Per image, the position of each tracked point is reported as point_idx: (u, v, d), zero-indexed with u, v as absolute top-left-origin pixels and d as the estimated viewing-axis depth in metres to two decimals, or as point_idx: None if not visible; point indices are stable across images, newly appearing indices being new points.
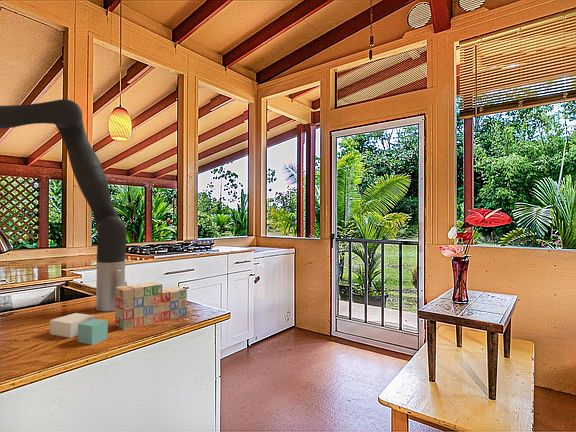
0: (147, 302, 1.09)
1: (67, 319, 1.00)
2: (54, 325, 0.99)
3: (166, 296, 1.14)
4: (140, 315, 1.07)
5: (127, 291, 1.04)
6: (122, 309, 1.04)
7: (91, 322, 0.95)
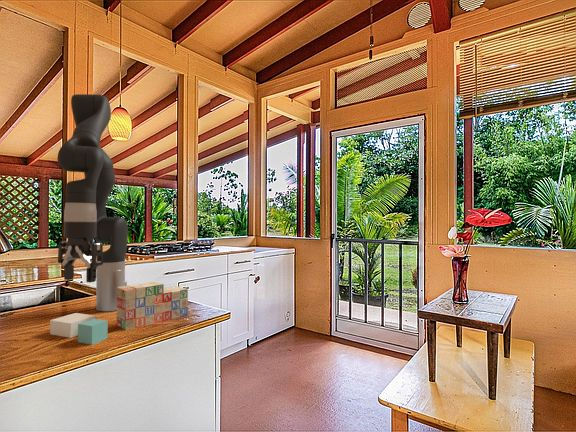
0: (149, 302, 1.09)
1: (67, 319, 1.00)
2: (54, 325, 0.99)
3: (167, 296, 1.14)
4: (142, 315, 1.07)
5: (129, 291, 1.04)
6: (124, 309, 1.04)
7: (91, 322, 0.95)
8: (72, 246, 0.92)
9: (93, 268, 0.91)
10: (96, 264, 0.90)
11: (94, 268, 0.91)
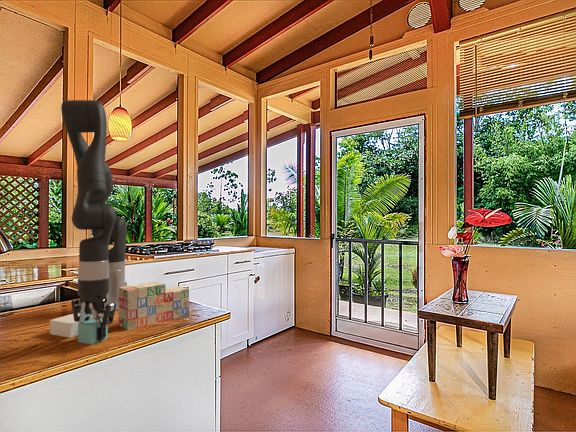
0: (150, 302, 1.09)
1: (67, 319, 1.00)
2: (54, 325, 0.99)
3: (169, 295, 1.14)
4: (144, 315, 1.08)
5: (131, 291, 1.04)
6: (126, 309, 1.04)
7: (91, 322, 0.95)
8: (85, 302, 0.94)
9: (103, 327, 0.94)
10: (106, 324, 0.93)
11: (104, 327, 0.94)
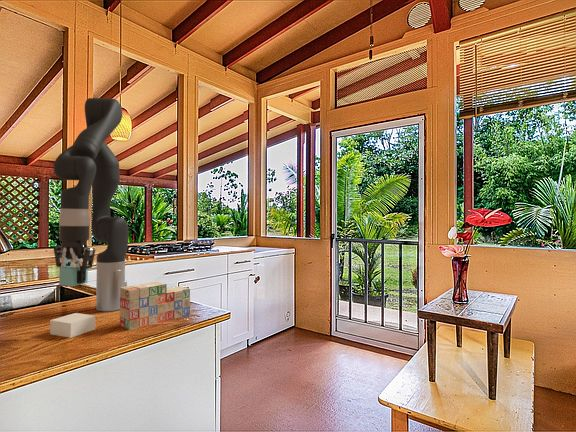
0: (152, 302, 1.09)
1: (67, 319, 1.00)
2: (54, 325, 0.99)
3: (170, 295, 1.14)
4: (145, 315, 1.08)
5: (133, 291, 1.04)
6: (128, 309, 1.04)
7: (72, 267, 1.01)
8: (66, 248, 1.00)
9: (83, 271, 1.00)
10: (86, 267, 0.99)
11: (84, 271, 1.00)
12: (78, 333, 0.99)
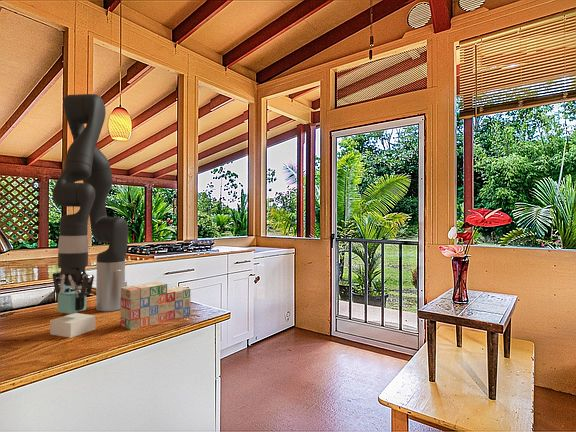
0: (153, 302, 1.09)
1: (67, 319, 1.00)
2: (54, 325, 0.99)
3: (171, 295, 1.14)
4: (146, 315, 1.08)
5: (134, 291, 1.04)
6: (129, 309, 1.04)
7: (70, 293, 1.01)
8: (65, 274, 1.00)
9: (81, 298, 1.00)
10: (84, 294, 0.99)
11: (82, 297, 1.00)
12: (78, 333, 0.99)
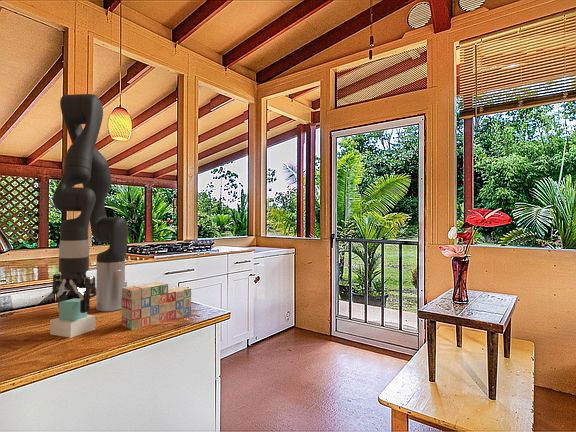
0: (154, 302, 1.09)
1: None
2: (54, 325, 0.99)
3: (172, 295, 1.14)
4: (147, 315, 1.08)
5: (135, 291, 1.04)
6: (130, 309, 1.04)
7: (71, 301, 1.01)
8: (66, 279, 1.00)
9: (86, 300, 1.00)
10: (89, 296, 0.99)
11: (87, 300, 1.00)
12: (78, 333, 0.99)
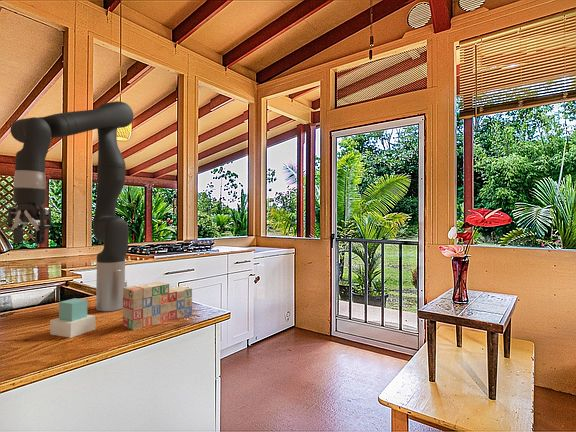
0: (155, 302, 1.09)
1: None
2: (54, 325, 0.99)
3: (173, 295, 1.15)
4: (149, 314, 1.08)
5: (136, 291, 1.04)
6: (131, 309, 1.04)
7: (71, 301, 1.01)
8: (21, 211, 0.99)
9: (42, 231, 0.99)
10: (44, 227, 0.98)
11: (43, 231, 0.99)
12: (78, 333, 0.99)
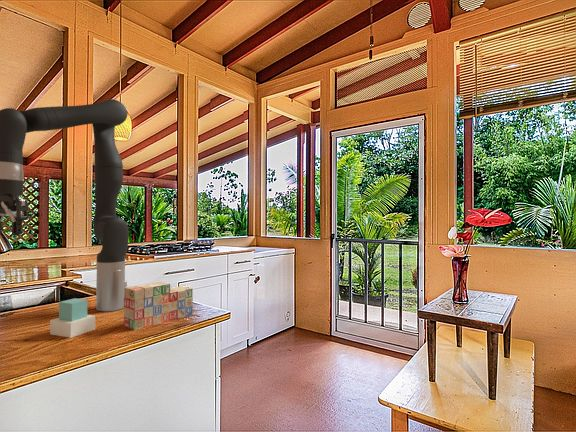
0: (156, 302, 1.10)
1: None
2: (54, 325, 0.99)
3: (174, 295, 1.15)
4: (150, 314, 1.08)
5: (138, 291, 1.05)
6: (133, 309, 1.04)
7: (71, 301, 1.01)
8: None
9: (18, 222, 0.99)
10: (21, 218, 0.98)
11: (19, 222, 0.99)
12: (78, 333, 0.99)
